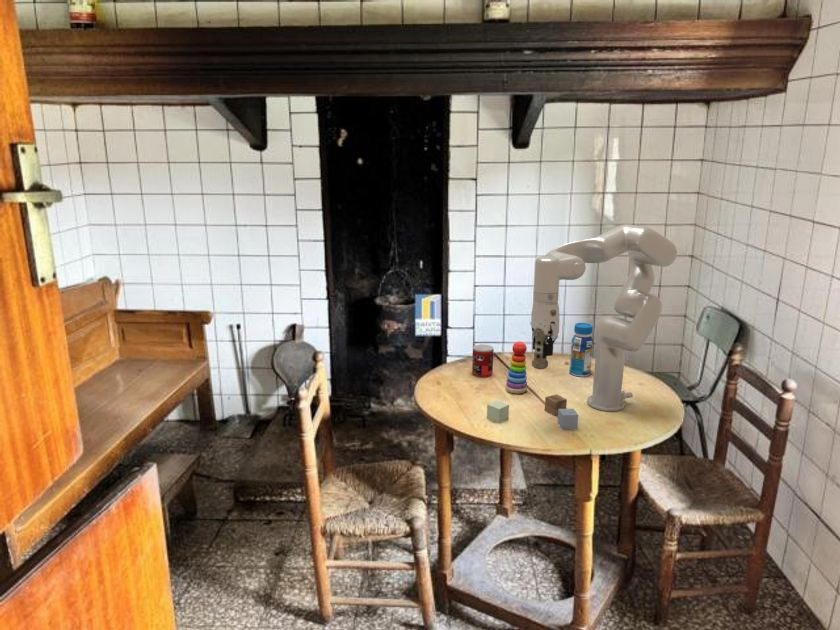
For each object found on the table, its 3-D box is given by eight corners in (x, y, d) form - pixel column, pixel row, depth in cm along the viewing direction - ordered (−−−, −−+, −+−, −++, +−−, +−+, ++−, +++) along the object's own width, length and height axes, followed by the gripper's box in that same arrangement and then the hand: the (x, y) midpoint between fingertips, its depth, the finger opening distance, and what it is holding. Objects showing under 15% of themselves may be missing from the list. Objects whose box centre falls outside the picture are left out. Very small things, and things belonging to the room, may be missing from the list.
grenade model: (554, 369, 198) (557, 323, 194) (532, 369, 199) (534, 323, 195) (551, 362, 204) (554, 317, 200) (530, 362, 205) (532, 317, 201)
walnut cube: (555, 407, 219) (556, 394, 218) (565, 413, 215) (566, 399, 213) (544, 410, 217) (545, 396, 215) (554, 416, 212) (555, 402, 211)
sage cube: (496, 414, 213) (497, 400, 212) (508, 418, 210) (508, 404, 209) (486, 418, 210) (487, 404, 209) (498, 423, 207) (499, 409, 205)
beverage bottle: (566, 369, 255) (569, 321, 249) (586, 369, 255) (591, 321, 250) (572, 377, 247) (576, 328, 241) (593, 377, 247) (598, 327, 242)
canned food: (469, 371, 252) (470, 345, 249) (487, 369, 254) (488, 343, 251) (476, 378, 245) (477, 351, 242) (495, 376, 247) (496, 349, 244)
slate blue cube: (572, 422, 208) (573, 408, 206) (577, 429, 203) (578, 415, 202) (557, 423, 207) (558, 408, 206) (561, 429, 203) (562, 415, 201)
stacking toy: (507, 394, 230) (509, 345, 225) (503, 386, 237) (505, 338, 232) (528, 394, 230) (531, 345, 225) (524, 386, 238) (527, 338, 233)
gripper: (571, 302, 189) (567, 359, 194) (542, 289, 205) (539, 343, 210) (549, 304, 187) (545, 362, 192) (521, 291, 202) (519, 345, 207)
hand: (542, 351), depth 201 cm, fingers closed on grenade model, 5 cm apart
